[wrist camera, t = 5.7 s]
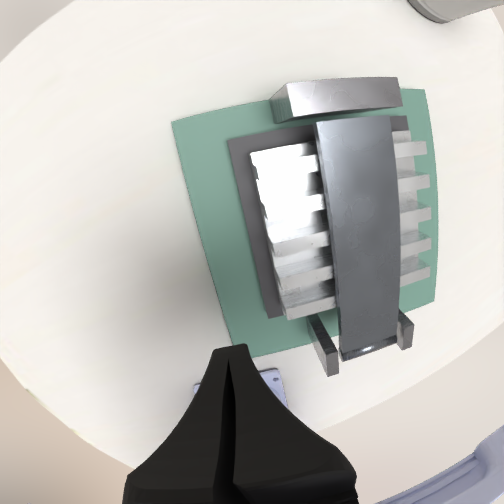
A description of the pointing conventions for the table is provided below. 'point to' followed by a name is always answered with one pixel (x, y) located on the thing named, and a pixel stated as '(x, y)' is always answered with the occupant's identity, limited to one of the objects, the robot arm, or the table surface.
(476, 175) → the table surface
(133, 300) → the table surface
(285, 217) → the heat sink
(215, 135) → the circuit board
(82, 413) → the table surface
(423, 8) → the travel mug
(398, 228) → the flat metal bar
